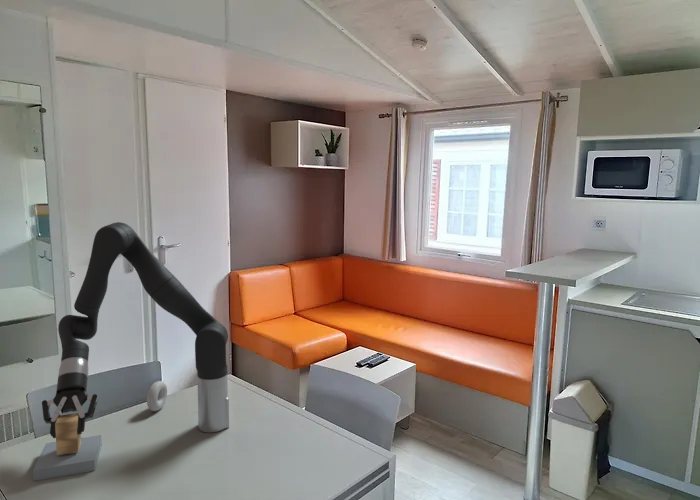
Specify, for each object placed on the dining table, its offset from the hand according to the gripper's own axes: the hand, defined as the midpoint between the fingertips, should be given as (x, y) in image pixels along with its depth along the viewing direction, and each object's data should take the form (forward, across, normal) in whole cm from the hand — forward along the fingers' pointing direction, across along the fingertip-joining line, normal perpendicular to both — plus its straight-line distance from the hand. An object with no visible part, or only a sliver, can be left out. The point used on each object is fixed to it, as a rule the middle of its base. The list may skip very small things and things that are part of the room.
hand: (67, 435), depth 128 cm
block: (+2, 0, +5) cm, 5 cm away
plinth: (+5, 0, +7) cm, 9 cm away
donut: (-13, +22, +26) cm, 37 cm away
